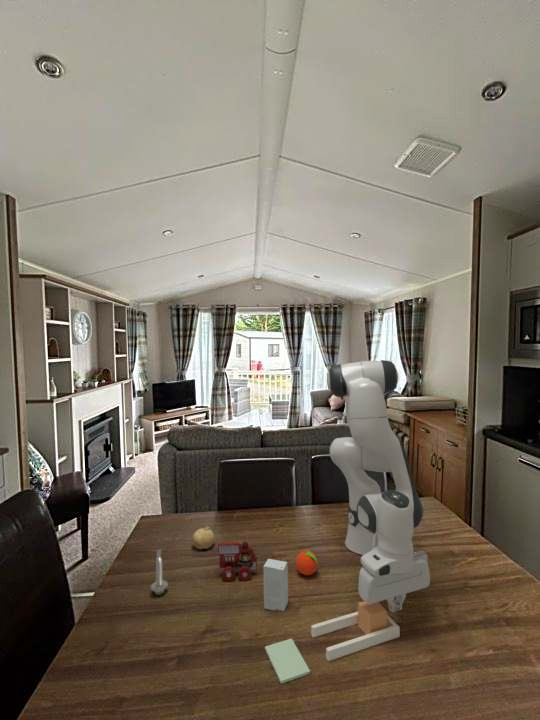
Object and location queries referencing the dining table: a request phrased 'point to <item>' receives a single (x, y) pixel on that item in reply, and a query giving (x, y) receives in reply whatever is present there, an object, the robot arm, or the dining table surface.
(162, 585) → the screw
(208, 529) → the onion
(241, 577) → the toy fire truck
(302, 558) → the clementine
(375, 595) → the robot arm
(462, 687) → the dining table surface
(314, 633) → the chute
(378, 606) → the block
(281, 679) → the pad
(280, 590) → the skincare box
